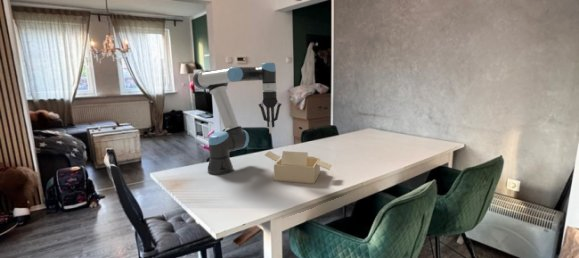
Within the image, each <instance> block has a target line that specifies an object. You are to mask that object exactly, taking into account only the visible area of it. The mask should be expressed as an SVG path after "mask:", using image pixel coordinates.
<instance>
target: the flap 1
mask: <svg viewBox="0 0 579 258" xmlns="http://www.w3.org/2000/svg"><path fill="white" fill-rule="evenodd" d="M264 156H265V157H268V158H269V159H270V160H272V161H274V162H278V161H279V160H280V159H281V156H279V155H278V154H276V153H274V152H273V151H270V150H269V151H268V152H266V153H265V154H264Z"/></svg>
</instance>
